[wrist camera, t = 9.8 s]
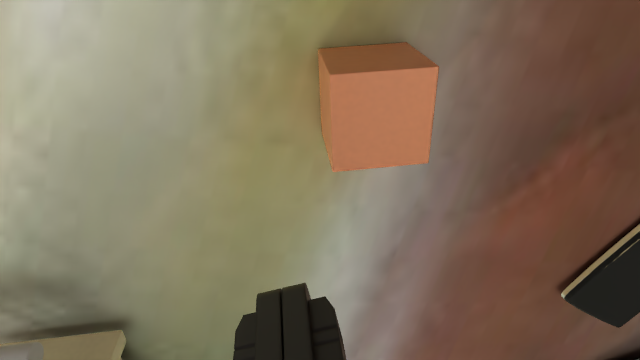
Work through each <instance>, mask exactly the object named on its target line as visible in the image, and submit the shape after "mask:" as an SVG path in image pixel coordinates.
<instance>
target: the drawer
mask: <svg viewBox="0 0 640 360" xmlns="http://www.w3.org/2000/svg"><path fill="white" fill-rule="evenodd" d="M125 344H126V338H125V336H124V334H123V332H122V330H117V331H108V332H99V333H91V334H82V335H74V336H65V337H57V338H48V339H39V340H31V341H22V342H14V343H5V344H0V360H122V358H121V355H122V352H123V349H124V346H125Z"/></svg>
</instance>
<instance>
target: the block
mask: <svg viewBox="0 0 640 360" xmlns="http://www.w3.org/2000/svg"><path fill="white" fill-rule="evenodd" d="M318 62H319V84H320V106H321V127H322V135H323V138H324V142H325V146H326V149H327V153H328V156H329V160H330V164H331V167H332V171H333V172H338V171H349V170H359V169H370V168H381V167H392V166H402V165H413V164H424V163H428V162H429V153H430V144H431V135H432V126H433V117H434V108H435V99H436V90H437V80H438V71H439V66H438V65H436V64H435V63H434V62H432V61H431V60H430V59H428V58H427V57H426V56H424V55H423V54H422V53H420V52H419V51H418V50H416V49H415V48H413V47H412V46H411V45H409V44H408V43H407V42H405V43H391V44H377V45H363V46H349V47H335V48H321V49H318Z"/></svg>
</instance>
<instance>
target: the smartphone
mask: <svg viewBox="0 0 640 360" xmlns="http://www.w3.org/2000/svg"><path fill="white" fill-rule="evenodd" d="M561 295H562V297H563V298H564V299H565V300H566V301H567V302H568V303H570V304H572V305H573V306H575V307H576V308H578V309H580V310H582V311H584V312H585V313H587V314H589V315H591V316H593V317H595V318H598V319H600V320H602V321H604V322H606V323H608V324H611V325H613V326H616V327H621V326H623V325H624V324H625V323H626V322H628V321H629V320H630V319H632V318H633V317H634V316H635V315H637V314H638V313H639V312H640V224H639V225H638V226H637V227H635V228H634V229H633V230H632V231H631V232H629V233H628V234H627V235H626V236H625V237H624V238H622V239H621V240H620V241H619V242H618V243H616V244H615V245H614V246H613V247H612V248H611V249H609V250H608V251H607V252H606V253H605V254H604V255H602V256H601V257H600V258H599V259H598V260H597V261H595V262H594V263H593V264H592V265H591V266H590V267H589V268H588V269H587V270H585V271H584V272H583V273H582V274H581V275H580V276H579V277H578V278H577V279H576V280H574V281H573V282H572V283H571V284H570V285H569V286H568V287H567V288H566V289H565V290H564V291H563V292H562V294H561Z"/></svg>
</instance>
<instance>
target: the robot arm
mask: <svg viewBox="0 0 640 360" xmlns="http://www.w3.org/2000/svg"><path fill="white" fill-rule="evenodd" d="M234 349H235V351H234V356H233V360H346V355H345V350H344V344H343V339H342V335H341V332H340V328H339V324H338V320H337V317H336V313H335V309H334V307H333V306H332V305H331V304H330V302H329V301H328V300H327V298H326V297H321V298H316V299H312V300H311V298H310V295H309V291H308V288H307V285H306V283H302V284H298V285H293V286H289V287H284V288H282V289H276V290H272V291H267V292H263V293H259V294H257V300H256V312H255V313H251V314H246V315H243V317H242V319H241V321H240V323H239V325H238V327H237V329H236V332H235V344H234Z"/></svg>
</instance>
